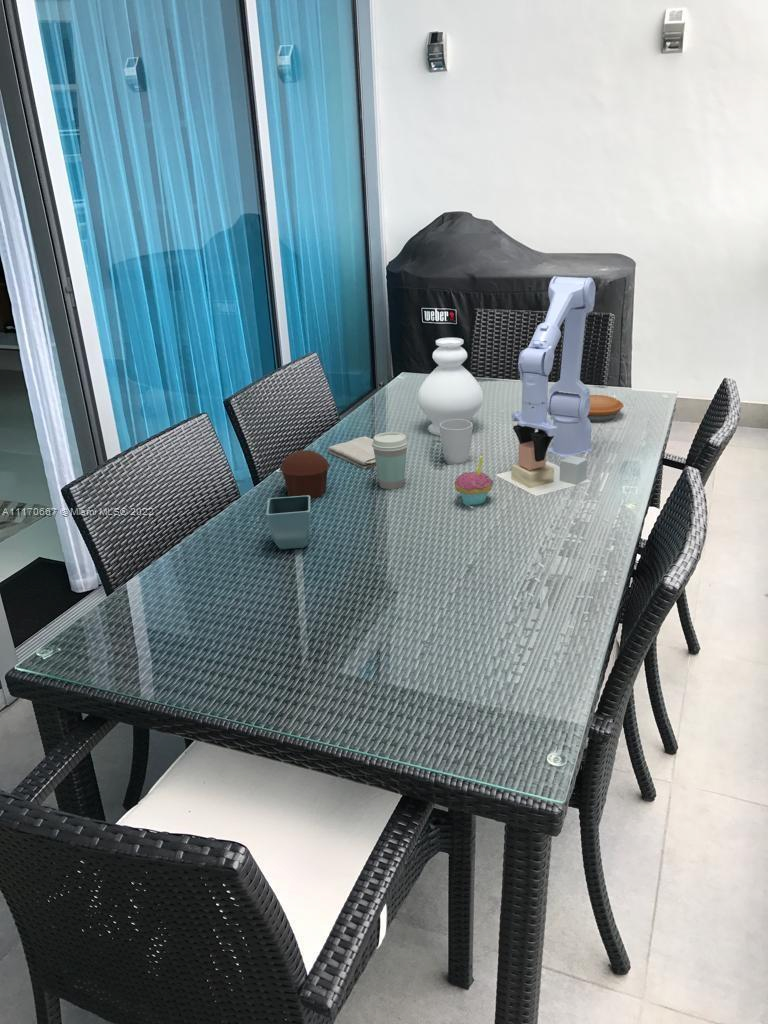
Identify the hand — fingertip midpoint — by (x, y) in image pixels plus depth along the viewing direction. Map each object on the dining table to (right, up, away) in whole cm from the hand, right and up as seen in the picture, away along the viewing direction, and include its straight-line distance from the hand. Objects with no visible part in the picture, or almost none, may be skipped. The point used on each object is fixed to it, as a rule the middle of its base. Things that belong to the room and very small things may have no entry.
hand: (533, 457), depth 204 cm
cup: (-16, 0, +18) cm, 24 cm away
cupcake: (-15, -11, -7) cm, 19 cm away
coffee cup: (-33, -6, +5) cm, 34 cm away
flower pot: (-54, -20, -22) cm, 61 cm away
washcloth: (-40, +1, +25) cm, 47 cm away
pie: (+26, +15, +47) cm, 56 cm away
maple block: (0, -5, +2) cm, 6 cm away
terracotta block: (0, -2, +1) cm, 2 cm away
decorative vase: (-16, +10, +42) cm, 46 cm away
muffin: (-53, -8, +3) cm, 54 cm away
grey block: (+10, -5, +2) cm, 11 cm away
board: (+3, -5, +4) cm, 7 cm away
